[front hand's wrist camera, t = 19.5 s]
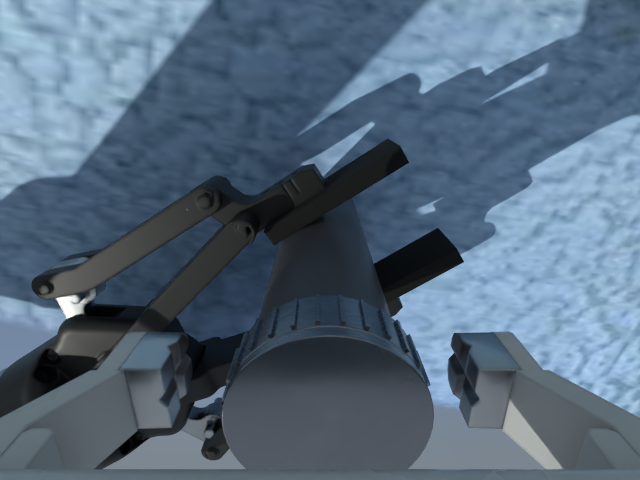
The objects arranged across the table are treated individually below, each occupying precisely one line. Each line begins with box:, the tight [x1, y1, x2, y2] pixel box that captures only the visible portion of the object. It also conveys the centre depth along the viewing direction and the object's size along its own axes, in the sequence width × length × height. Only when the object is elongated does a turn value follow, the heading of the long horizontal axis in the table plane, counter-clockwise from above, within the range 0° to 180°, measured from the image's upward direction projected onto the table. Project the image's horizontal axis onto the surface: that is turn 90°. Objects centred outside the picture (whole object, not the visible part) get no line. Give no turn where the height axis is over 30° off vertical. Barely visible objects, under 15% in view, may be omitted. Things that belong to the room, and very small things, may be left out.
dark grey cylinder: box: [259, 198, 391, 318], centre depth 17 cm, size 4×4×16 cm
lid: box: [221, 294, 434, 469], centre depth 10 cm, size 5×5×2 cm
